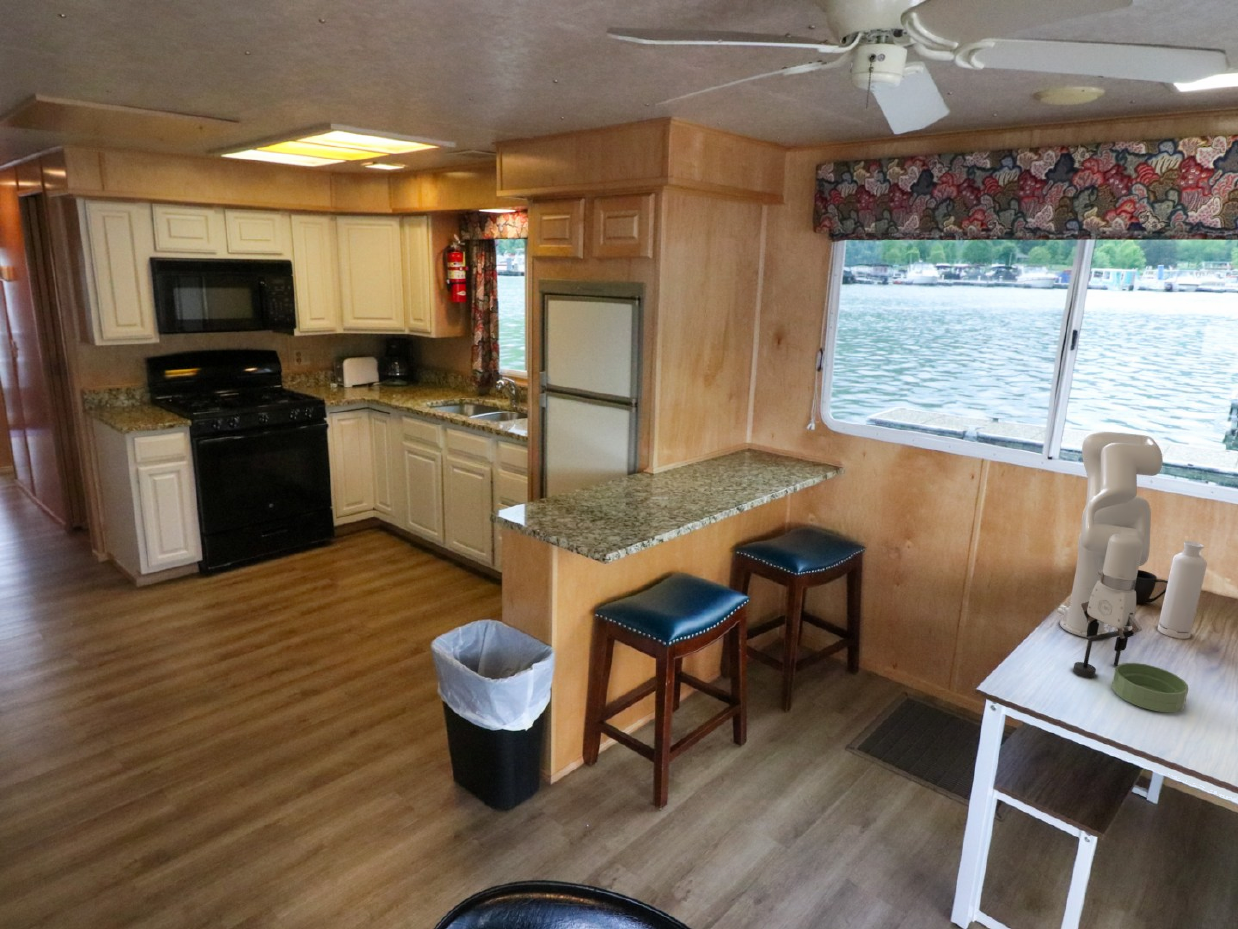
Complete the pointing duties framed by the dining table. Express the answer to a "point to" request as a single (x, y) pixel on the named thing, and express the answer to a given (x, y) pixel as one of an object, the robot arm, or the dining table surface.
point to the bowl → (1150, 687)
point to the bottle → (1183, 591)
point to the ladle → (1085, 668)
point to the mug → (1146, 587)
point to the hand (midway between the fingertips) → (1105, 643)
